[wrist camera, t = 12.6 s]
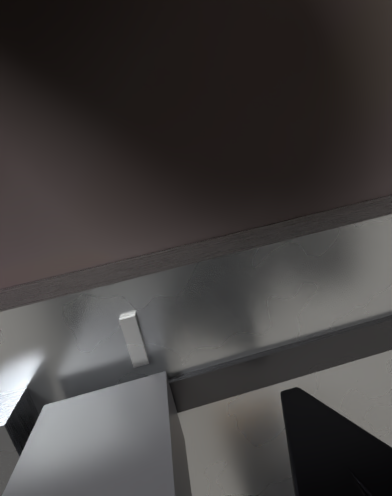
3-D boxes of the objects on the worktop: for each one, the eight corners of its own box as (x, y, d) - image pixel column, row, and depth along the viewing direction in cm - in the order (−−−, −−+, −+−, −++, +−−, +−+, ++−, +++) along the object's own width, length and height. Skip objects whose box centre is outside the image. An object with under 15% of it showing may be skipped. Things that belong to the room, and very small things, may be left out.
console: (526, 162, 10) (685, 156, 7) (498, 476, 14) (594, 558, 11) (-70, 307, 9) (-193, 381, 5) (87, 621, 13) (66, 766, 9)
